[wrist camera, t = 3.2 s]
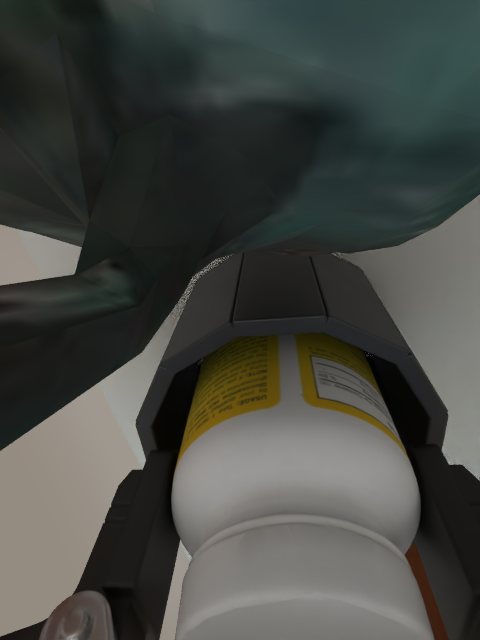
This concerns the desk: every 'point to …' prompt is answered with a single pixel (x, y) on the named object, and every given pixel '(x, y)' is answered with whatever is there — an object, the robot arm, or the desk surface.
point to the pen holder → (288, 318)
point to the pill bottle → (295, 499)
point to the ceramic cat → (212, 155)
